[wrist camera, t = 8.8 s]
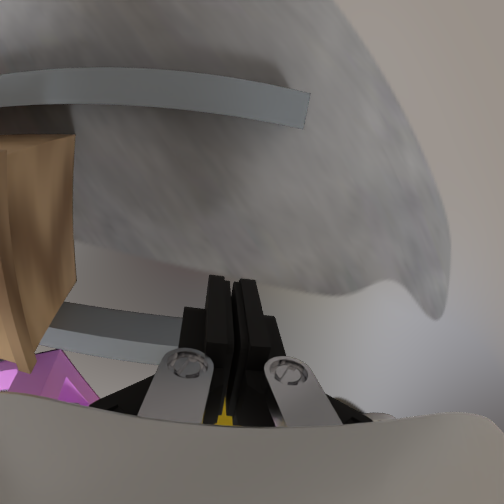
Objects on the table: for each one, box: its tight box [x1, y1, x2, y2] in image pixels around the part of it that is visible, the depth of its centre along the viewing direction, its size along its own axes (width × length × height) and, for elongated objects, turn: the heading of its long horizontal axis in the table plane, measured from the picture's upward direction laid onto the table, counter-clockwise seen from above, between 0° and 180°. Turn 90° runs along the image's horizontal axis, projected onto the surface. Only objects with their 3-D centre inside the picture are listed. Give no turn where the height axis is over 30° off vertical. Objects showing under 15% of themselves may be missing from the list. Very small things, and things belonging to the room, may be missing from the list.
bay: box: [0, 67, 311, 365], centre depth 13 cm, size 14×20×2 cm
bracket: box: [0, 349, 101, 406], centre depth 16 cm, size 13×6×7 cm, turn 105°
